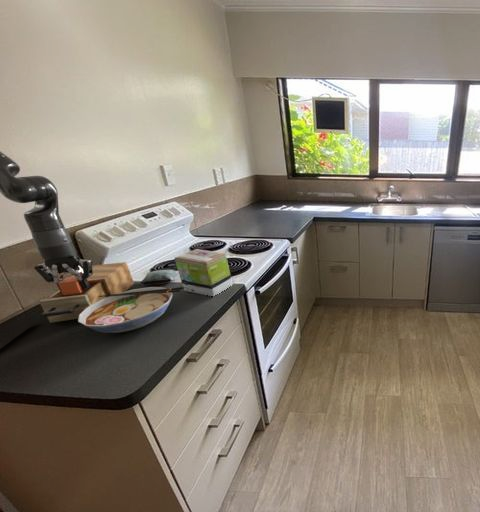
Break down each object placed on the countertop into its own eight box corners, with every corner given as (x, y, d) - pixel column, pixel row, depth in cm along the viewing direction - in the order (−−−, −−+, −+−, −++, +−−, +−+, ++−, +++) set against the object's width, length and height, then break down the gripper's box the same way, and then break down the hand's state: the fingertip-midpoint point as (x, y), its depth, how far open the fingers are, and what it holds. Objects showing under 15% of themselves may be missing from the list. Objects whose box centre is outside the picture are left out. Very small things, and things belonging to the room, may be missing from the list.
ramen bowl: (60, 351, 80) (47, 327, 77) (117, 307, 101) (109, 287, 98) (159, 342, 84) (150, 319, 81) (194, 302, 105) (188, 282, 102)
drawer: (86, 323, 91) (76, 302, 88) (39, 330, 88) (27, 308, 85) (116, 295, 107) (109, 276, 104) (78, 300, 104) (70, 281, 101)
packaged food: (151, 278, 122) (148, 268, 120) (182, 275, 125) (179, 265, 123) (140, 288, 114) (136, 277, 113) (174, 285, 117) (170, 274, 115)
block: (63, 295, 93) (57, 283, 92) (72, 288, 97) (66, 277, 96) (80, 293, 95) (75, 281, 93) (88, 287, 99) (83, 275, 97)
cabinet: (114, 302, 105) (104, 278, 101) (70, 307, 101) (59, 283, 97) (134, 283, 118) (126, 262, 115) (96, 287, 115) (87, 265, 111)
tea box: (183, 292, 112) (172, 257, 106) (205, 280, 120) (196, 248, 115) (213, 297, 107) (204, 261, 102) (234, 285, 116) (226, 251, 111)
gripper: (89, 236, 95) (108, 282, 101) (33, 240, 91) (56, 288, 97) (75, 244, 88) (95, 292, 95) (14, 248, 84) (40, 299, 91)
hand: (76, 290), depth 96 cm, fingers closed on block, 4 cm apart
